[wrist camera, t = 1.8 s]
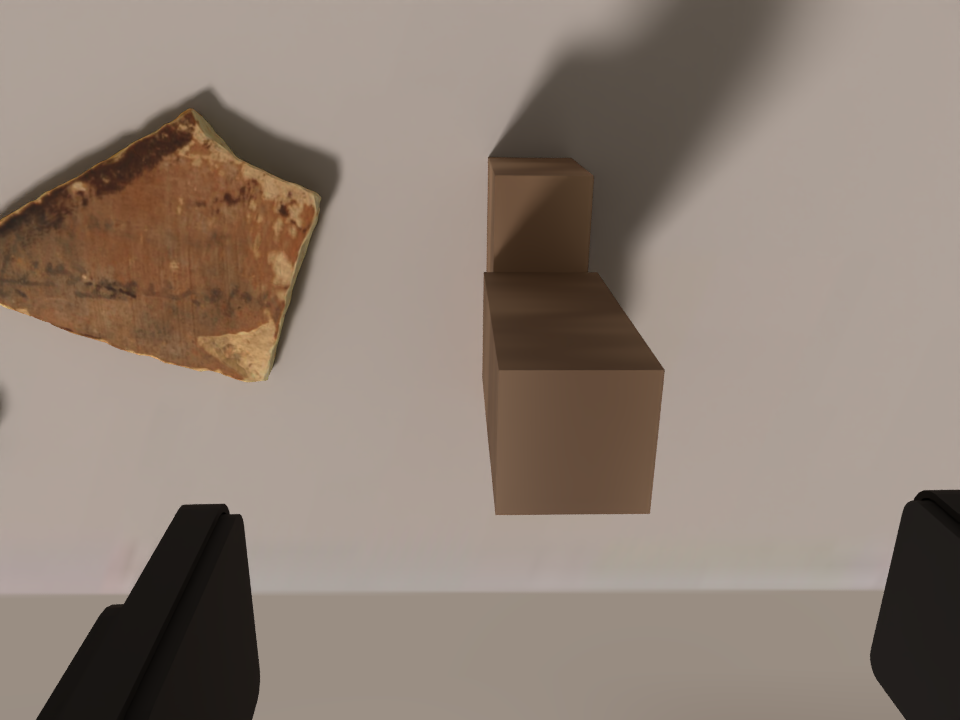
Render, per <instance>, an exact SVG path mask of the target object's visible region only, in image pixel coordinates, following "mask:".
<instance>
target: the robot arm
mask: <svg viewBox="0 0 960 720" xmlns="http://www.w3.org/2000/svg"><path fill="white" fill-rule="evenodd" d="M870 661H871V666H872V670H873V673H874V675H875V677H876V679H877V681H878V682H879V683H880V685H881V686H882V687H883V689H884V690H885V692H886V693H887V694H888V696H889V697H890V698H891V700H892V701H893V703H894V704H895V705H896V707H897V708H898V709H899V711H900V712H901V713H902V715H903V716H904V718H905V719H906V720H960V490H924V491H922V492H919V493H918V494H917V496H916V497H915V498H914V501H910V502H908V503H907V504H906V505H905V507H904V509H903V513H902V517H901V521H900V526H899V530H898V534H897V539H896V543H895V547H894V552H893V556H892V560H891V565H890V569H889V573H888V578H887V582H886V586H885V591H884V595H883V599H882V604H881V608H880V612H879V617H878V621H877V625H876V630H875V634H874V638H873V643H872V647H871V653H870ZM259 685H260V668H259V659H258V650H257V641H256V633H255V624H254V613H253V604H252V595H251V586H250V577H249V567H248V558H247V549H246V540H245V531H244V523H243V518H242V516H241V515H240V514H230V513H229V510H228V507H227V506H226V505H225V504H192V505H182V506H181V507H180V508H179V510H178V511H177V513H176V515H175V517H174V518H173V520H172V522H171V523H170V525H169V527H168V529H167V530H166V532H165V534H164V536H163V537H162V539H161V541H160V542H159V544H158V546H157V548H156V549H155V551H154V553H153V555H152V556H151V558H150V560H149V561H148V563H147V565H146V567H145V568H144V570H143V572H142V574H141V575H140V577H139V579H138V581H137V582H136V584H135V586H134V587H133V589H132V591H131V593H130V594H129V596H128V598H127V600H126V601H125V603H124V604H117V605H111V606H109V607H106V608H105V610H104V611H103V612H102V613H101V615H100V616H99V617H98V619H97V621H96V622H95V624H94V626H93V627H92V629H91V631H90V632H89V634H88V635H87V637H86V639H85V640H84V642H83V644H82V645H81V647H80V648H79V650H78V652H77V654H76V655H75V657H74V658H73V660H72V662H71V663H70V665H69V666H68V668H67V670H66V671H65V673H64V675H63V676H62V678H61V680H60V681H59V683H58V685H57V686H56V688H55V689H54V691H53V693H52V694H51V696H50V698H49V699H48V701H47V703H46V704H45V706H44V708H43V709H42V711H41V712H40V714H39V716H38V717H37V719H36V720H252V718H253V714H254V711H255V707H256V704H257V700H258V695H259Z"/></svg>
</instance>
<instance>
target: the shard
mask: <svg viewBox="0 0 960 720" xmlns="http://www.w3.org/2000/svg"><path fill="white" fill-rule="evenodd" d="M320 201H321V197H320V196H319V194H318V193H316V192H314V191H311V190H309V189H306V188H304V187H303V186H300V185H298V184H296V183H291V182H288V181H285V180H283V179H280V178H278V177H276V176H274V175H272V174H269V173H268V172H266V171H264V170H262V169H260V168H257V167H255V166H253V165H251V164H249V163H247V162H245V161H243V160H241V159H239V158H237V157H236V156H235V154H234V153H233V152H232V151H231V149H230V148H229V147H228V146H227V145H226V143H225V142H224V140H223V139H222V138H221V137H220V136H218V135H217V134H216V133H215V132H214V130H213V128H212V127H211V125H210V124H209V123H208V122H207V121H206V120H205V119H204V118H203V117H202V115H200V114H199V113H197V112H196V111H195V110H194V109H191V108H189V109H187V110H186V111H184V112H182V113H181V114H180V115H179V116H178V117H177V118H176V119H175V120H173V121H172V122H170V123H167V124H164V125H163V126H162V127H161V128H160V129H158V130H157V131H155V132H154V133H152V134H149V135H147V136H145V137H143V138H141V139H139V140H137V141H135V142H133V143H131V144H130V145H128V146H127V147H126V148H124V149H122V150H120V151H119V152H118V153H116V154H115V155H113V156H111V157H110V158H108V159H107V160H104V161H102V162H100V163H98V164H96V165H95V166H93V167H91V168H90V169H88V170H87V171H85V172H84V173H82V174H81V175H79V176H78V177H76V178H74V179H72V180H70V181H68V182H66V183H64V184H61V185H59V186H57V187H55V188H54V189H52V190H50V191H46V192H45V193H44V194H42V195H41V196H40V197H39V198H38V199H36V200H33V201H31V202H29V203H27V204H26V205H24V206H23V207H21V208H19V209H18V210H16V211H14V212H13V213H11V214H9V215H8V216H6V217H4V218H2V219H1V220H0V305H1V306H4V307H6V308H8V309H12V310H15V311H18V312H20V313H23V314H27V315H29V316H33V317H35V318H37V319H40V320H42V321H45V322H49V323H51V324H52V325H54V326H56V327H59V328H61V329H64V330H67V331H69V332H71V333H74V334H77V335H81V336H85V337H88V338H92V339H95V340H98V341H102V342H105V343H108V344H110V345H112V346H114V347H116V348H118V349H121V350H125V351H128V352H131V353H135V354H138V355H146V356H151V357H153V358H156V359H158V360H160V361H162V362H164V363H168V364H174V365H178V366H182V367H186V368H190V369H194V370H197V371H200V372H201V371H207V370H210V371H214V372H218V373H221V374H223V375H225V376H229V377H232V378H234V379H237V380H241V381H245V382H256V381H263V380H264V381H266V380H268V376H269V375H270V372H271V370H272V367H273V363H274V360H275V356H276V348H277V345H278V341H279V338H280V334H281V330H282V326H283V322H284V318H285V313H286V311H287V309H288V306H289V304H290V301H291V296H292V290H293V287H294V284H295V281H296V278H297V275H298V272H299V270H300V267H301V265H302V262H303V259H304V257H305V255H306V252H307V247H308V244H309V241H310V238H311V235H312V232H313V230H314V228H315V226H316V224H317V223H318V215H319V212H320V208H319V205H320Z"/></svg>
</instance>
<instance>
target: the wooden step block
mask: <svg viewBox="0 0 960 720" xmlns="http://www.w3.org/2000/svg"><path fill="white" fill-rule="evenodd" d="M593 182H594V176H593V175H592V174H591V173H589V172H588V171H587V170H586V169H584V168H583V167H582V166H581V165H579V164H578V163H577V162H576V161H574V160H573V159H572V158H508V157H488V209H487V272H484V299H483V371H482V379H483V389H484V400H485V411H486V422H487V432H488V443H489V453H490V462H491V473H492V483H493V494H494V504H495V514H496V515H549V514H650V507H651V497H652V487H653V478H654V468H655V459H656V449H657V439H658V430H659V420H660V410H661V401H662V391H663V381H664V372H665V370H664V368H663V367H662V366H661V364H660V363H659V361H658V360H657V358H656V357H655V355H654V354H653V353H652V351H651V350H650V348H649V347H648V345H647V344H646V342H645V341H644V339H643V338H642V337H641V335H640V334H639V332H638V331H637V329H636V328H635V326H634V325H633V324H632V322H631V321H630V319H629V318H628V316H627V315H626V313H625V312H624V311H623V309H622V308H621V306H620V305H619V303H618V302H617V300H616V299H615V297H614V296H613V295H612V293H611V292H610V290H609V289H608V287H607V286H606V284H605V283H604V282H603V280H602V279H601V277H600V276H599V274H598V273H597V272H588V262H589V246H590V230H591V214H592V198H593Z"/></svg>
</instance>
